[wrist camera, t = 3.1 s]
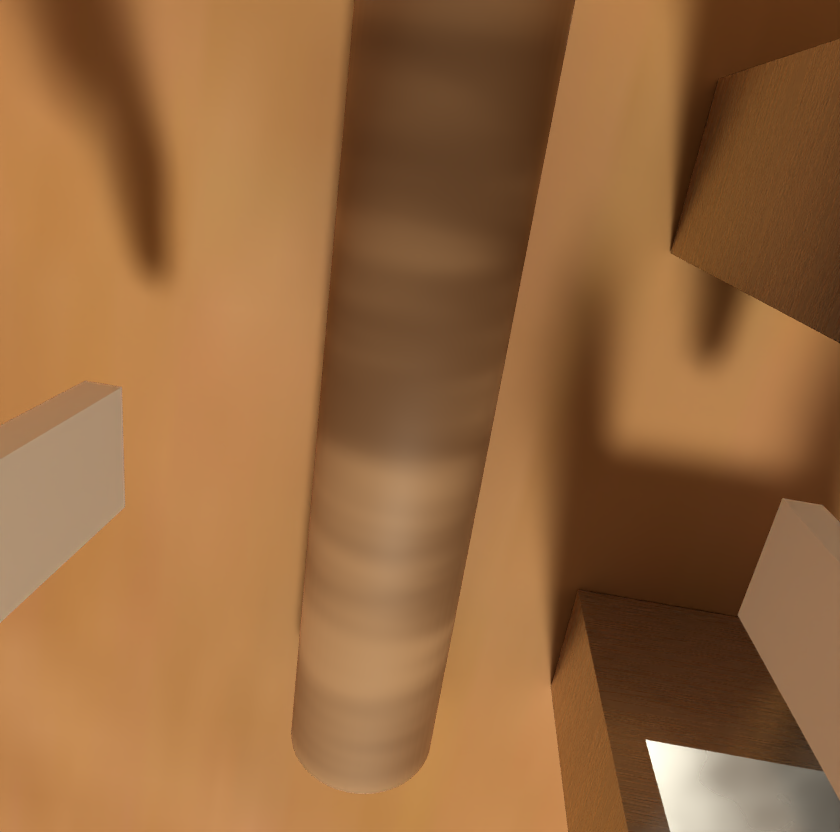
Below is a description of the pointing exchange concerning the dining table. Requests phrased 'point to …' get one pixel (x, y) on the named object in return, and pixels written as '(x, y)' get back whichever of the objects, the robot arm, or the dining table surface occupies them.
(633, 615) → the bracket
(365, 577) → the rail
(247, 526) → the dining table surface
